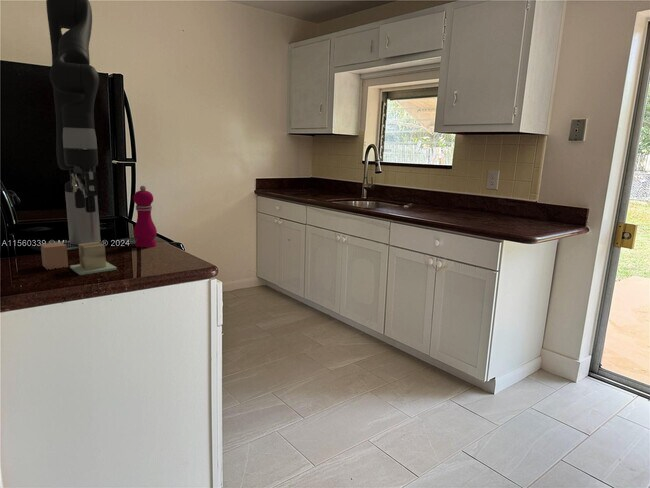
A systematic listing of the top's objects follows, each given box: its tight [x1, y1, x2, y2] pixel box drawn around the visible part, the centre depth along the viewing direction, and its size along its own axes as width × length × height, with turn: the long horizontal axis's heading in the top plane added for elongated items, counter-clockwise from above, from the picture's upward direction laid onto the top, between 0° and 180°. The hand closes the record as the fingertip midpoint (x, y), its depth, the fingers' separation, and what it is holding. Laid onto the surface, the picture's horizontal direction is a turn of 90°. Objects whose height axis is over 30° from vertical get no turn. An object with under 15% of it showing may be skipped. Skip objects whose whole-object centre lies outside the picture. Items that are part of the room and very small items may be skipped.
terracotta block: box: [40, 241, 69, 271], centre depth 120 cm, size 5×5×6 cm
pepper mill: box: [132, 185, 158, 248], centre depth 146 cm, size 7×7×20 cm
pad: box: [69, 261, 118, 276], centre depth 119 cm, size 9×9×1 cm
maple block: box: [77, 241, 107, 270], centre depth 119 cm, size 5×5×6 cm
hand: (85, 210), depth 117 cm, fingers open, 8 cm apart
